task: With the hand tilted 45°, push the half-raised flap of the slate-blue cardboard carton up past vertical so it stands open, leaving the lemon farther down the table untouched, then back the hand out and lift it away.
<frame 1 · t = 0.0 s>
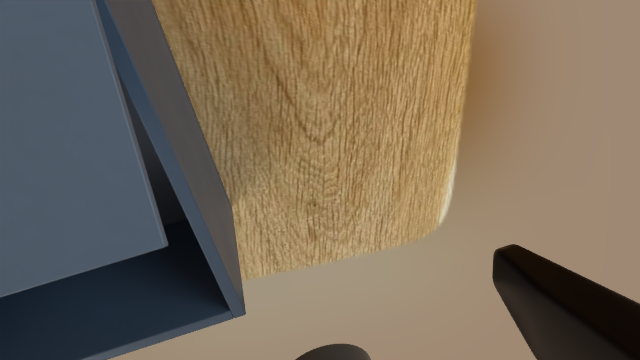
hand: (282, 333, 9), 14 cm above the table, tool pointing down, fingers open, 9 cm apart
carton: (57, 135, 20), on the table
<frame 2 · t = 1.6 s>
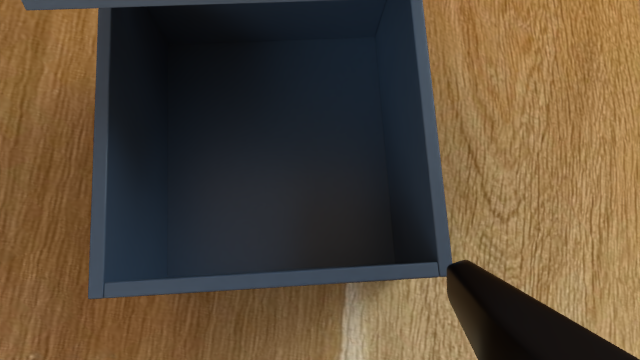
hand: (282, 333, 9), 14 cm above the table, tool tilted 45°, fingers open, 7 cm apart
carton: (278, 152, 23), on the table
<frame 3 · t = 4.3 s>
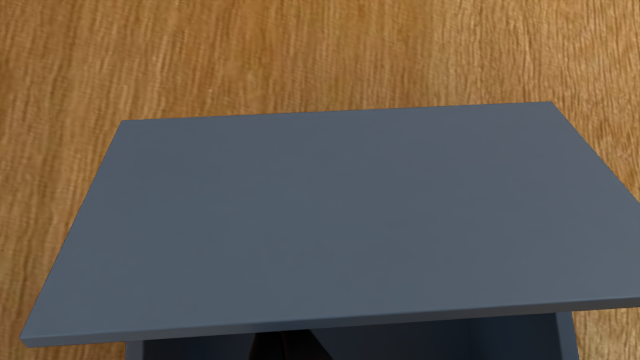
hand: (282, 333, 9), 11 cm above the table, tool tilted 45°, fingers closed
flap: (355, 193, 10), point 10 cm above the table, hinge at 37.4°, touching gripper
carton: (336, 322, 19), on the table
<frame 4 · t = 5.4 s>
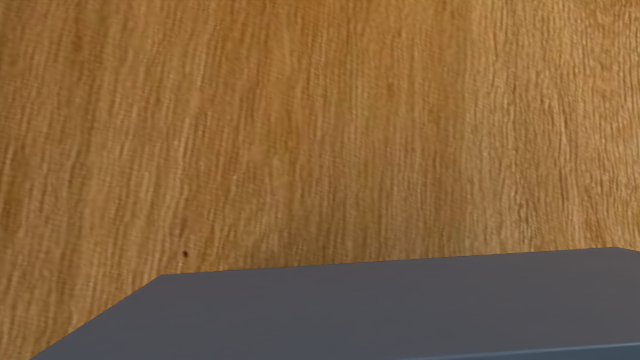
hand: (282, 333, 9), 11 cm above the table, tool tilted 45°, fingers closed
flap: (429, 297, 8), point 11 cm above the table, hinge at 79.5°, touching gripper
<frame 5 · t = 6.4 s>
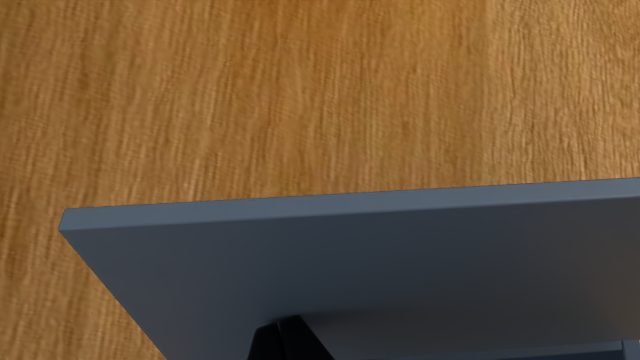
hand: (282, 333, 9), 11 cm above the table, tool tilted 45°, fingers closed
flap: (453, 293, 9), point 11 cm above the table, hinge at 117.7°, touching gripper
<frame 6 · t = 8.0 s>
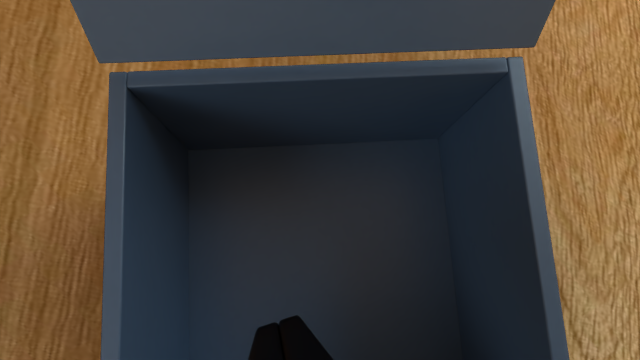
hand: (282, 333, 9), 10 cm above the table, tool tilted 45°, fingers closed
carton: (322, 283, 19), on the table
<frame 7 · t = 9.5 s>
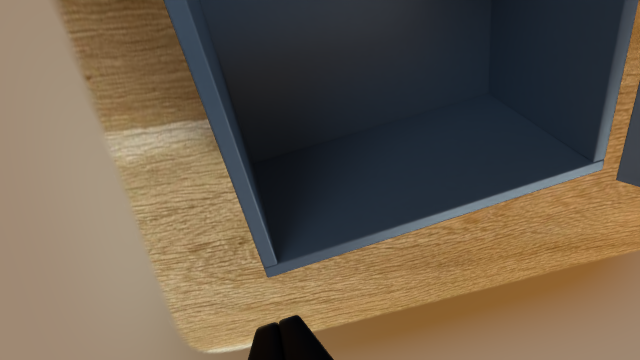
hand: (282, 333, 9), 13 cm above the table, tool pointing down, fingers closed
carton: (354, 8, 19), on the table
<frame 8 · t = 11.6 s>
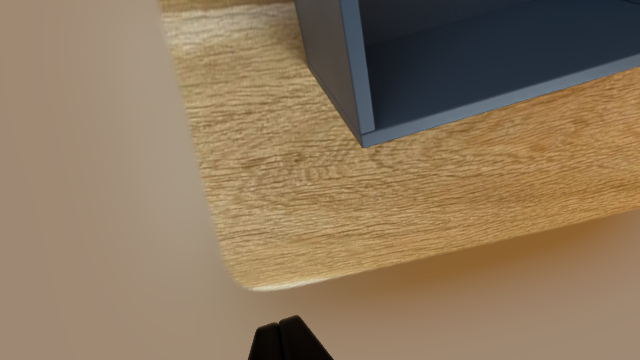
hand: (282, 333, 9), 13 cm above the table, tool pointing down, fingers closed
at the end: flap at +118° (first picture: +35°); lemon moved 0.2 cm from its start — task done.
